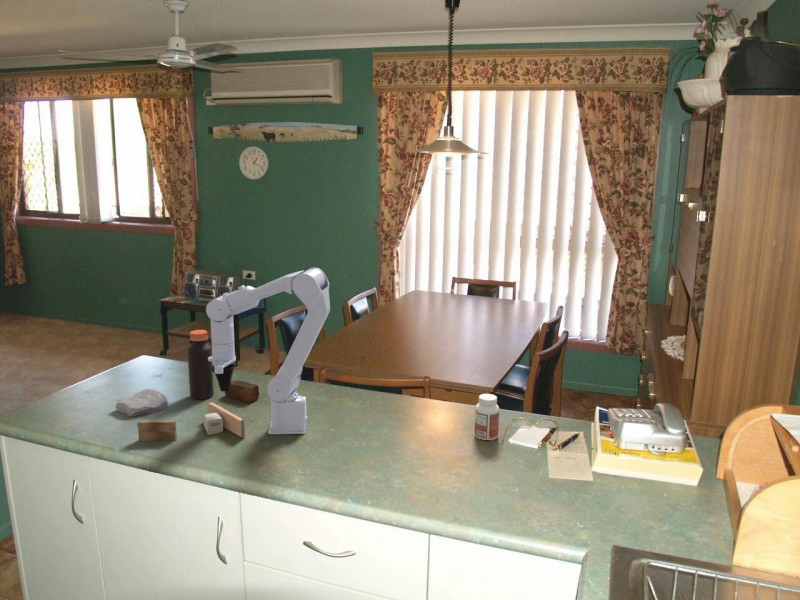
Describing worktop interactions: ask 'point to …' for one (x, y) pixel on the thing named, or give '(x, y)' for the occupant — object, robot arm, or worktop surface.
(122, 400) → the stone block
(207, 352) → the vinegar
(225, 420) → the light wood thin slab
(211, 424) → the usb wall charger
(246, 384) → the brick
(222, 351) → the robot arm
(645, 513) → the worktop surface
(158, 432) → the brown wooden board
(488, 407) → the pill bottle
